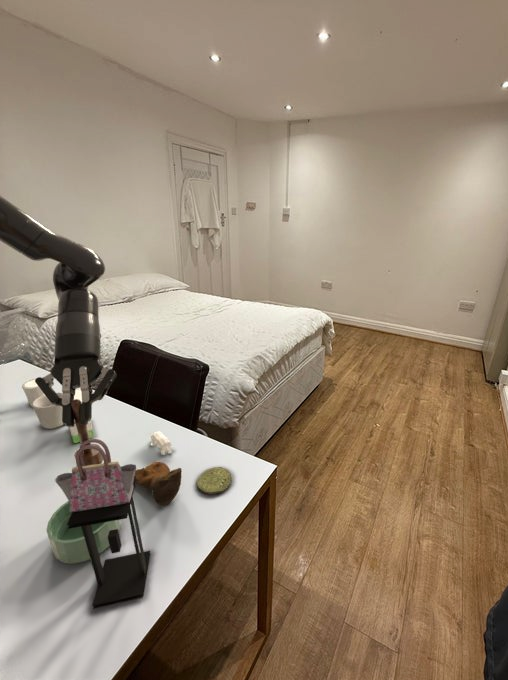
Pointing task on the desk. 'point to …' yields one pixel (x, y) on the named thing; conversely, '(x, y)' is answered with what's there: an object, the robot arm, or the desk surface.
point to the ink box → (73, 429)
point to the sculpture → (160, 481)
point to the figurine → (161, 442)
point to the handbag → (103, 506)
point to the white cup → (32, 391)
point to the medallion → (214, 480)
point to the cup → (48, 412)
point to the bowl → (75, 536)
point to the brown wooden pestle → (85, 437)
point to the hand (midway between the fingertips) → (77, 425)
